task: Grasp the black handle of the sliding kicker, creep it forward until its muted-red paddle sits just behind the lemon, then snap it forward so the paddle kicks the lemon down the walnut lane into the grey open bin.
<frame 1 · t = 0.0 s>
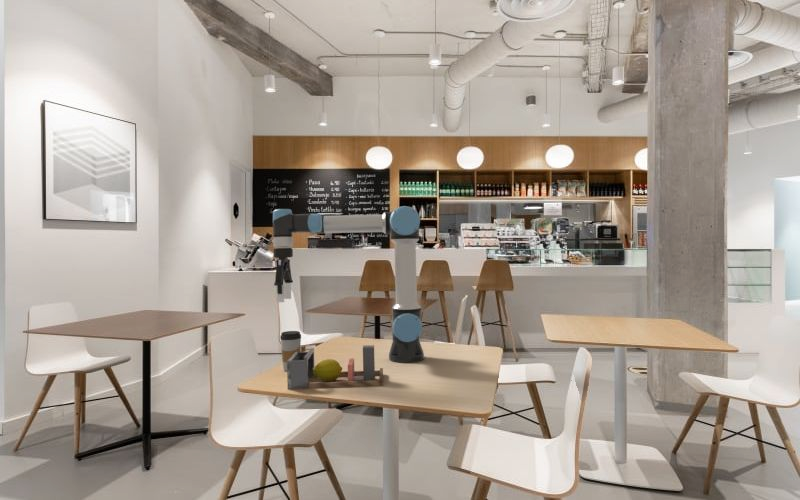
hand: (284, 300, 192), 28 cm above the table, fingers open, 13 cm apart
coffee cup: (291, 370, 193), on the table
grey open bin: (301, 382, 174), on the table
kicker: (361, 363, 174), point 6 cm above the table, slide at 0.0 cm
lane rails: (347, 380, 174), on the table
lemon: (328, 382, 174), on the table
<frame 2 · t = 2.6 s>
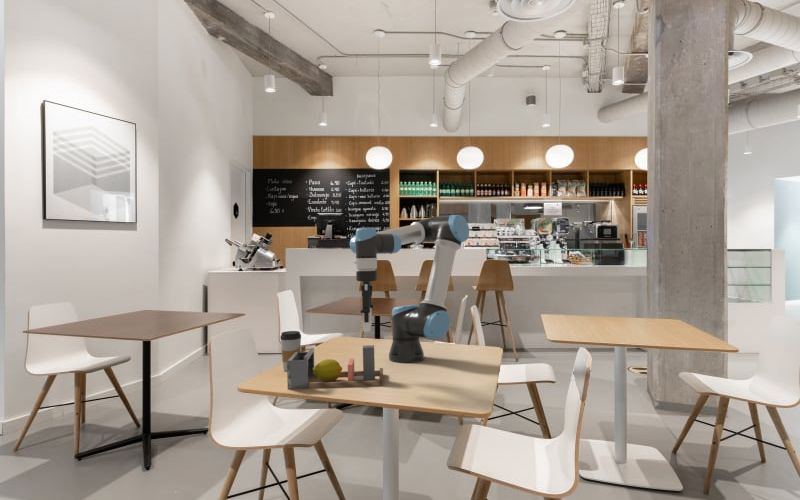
hand: (367, 328, 174), 19 cm above the table, fingers open, 13 cm apart
nothing on the table moved.
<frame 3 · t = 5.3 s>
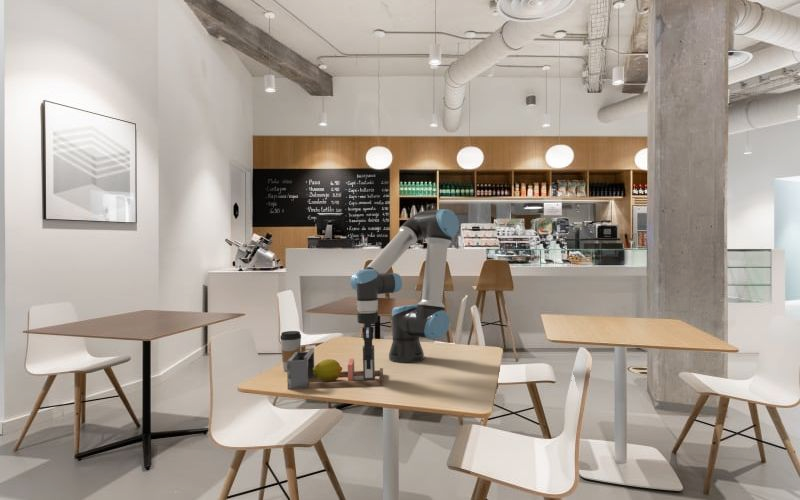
hand: (369, 375, 174), 2 cm above the table, fingers closed on kicker, 4 cm apart
kicker: (361, 363, 174), point 6 cm above the table, slide at 0.0 cm, touching gripper
everything else where it was.
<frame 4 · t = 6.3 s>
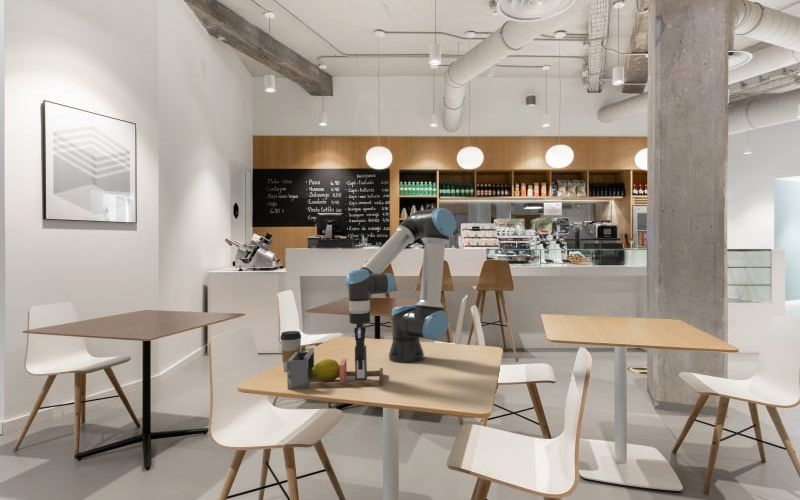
hand: (361, 375, 174), 2 cm above the table, fingers closed on kicker, 4 cm apart
kicker: (353, 363, 174), point 6 cm above the table, slide at 2.9 cm, touching gripper, lemon
lemon: (327, 382, 174), on the table, touching kicker
everything else where it was.
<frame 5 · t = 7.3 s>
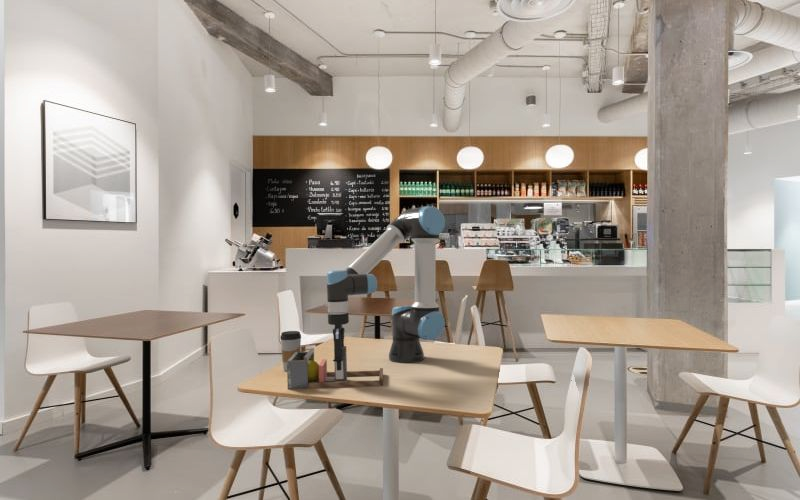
hand: (340, 376, 174), 2 cm above the table, fingers closed on kicker, 4 cm apart
kicker: (333, 364, 174), point 6 cm above the table, slide at 10.3 cm, touching gripper, lemon
lemon: (307, 383, 172), on the table, touching grey open bin, kicker
everything else where it was.
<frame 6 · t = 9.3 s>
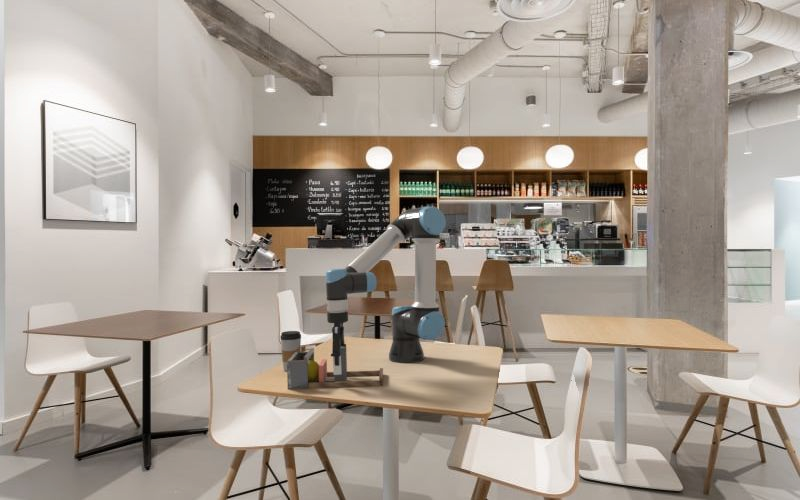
hand: (339, 369, 174), 4 cm above the table, fingers open, 13 cm apart
kicker: (333, 364, 174), point 6 cm above the table, slide at 10.2 cm
lemon: (307, 383, 172), on the table, touching grey open bin
everything else where it was.
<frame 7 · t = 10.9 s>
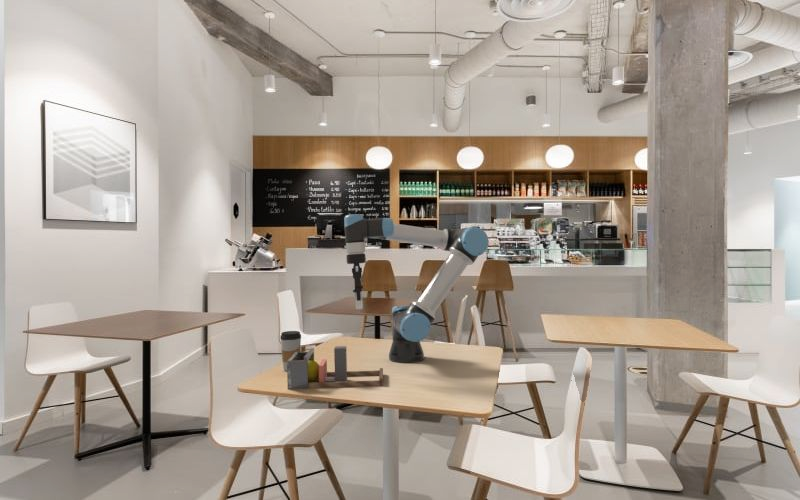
hand: (359, 306, 190), 25 cm above the table, fingers open, 13 cm apart
nothing on the table moved.
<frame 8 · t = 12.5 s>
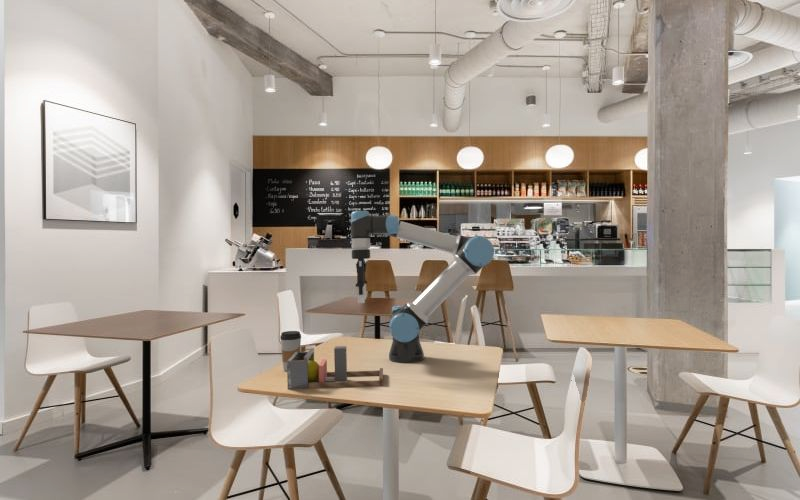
hand: (362, 301, 195), 27 cm above the table, fingers open, 13 cm apart
nothing on the table moved.
at the end: lemon inside the target area (2.5 cm from its centre), on the table; kicker slide at 10.2 cm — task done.
